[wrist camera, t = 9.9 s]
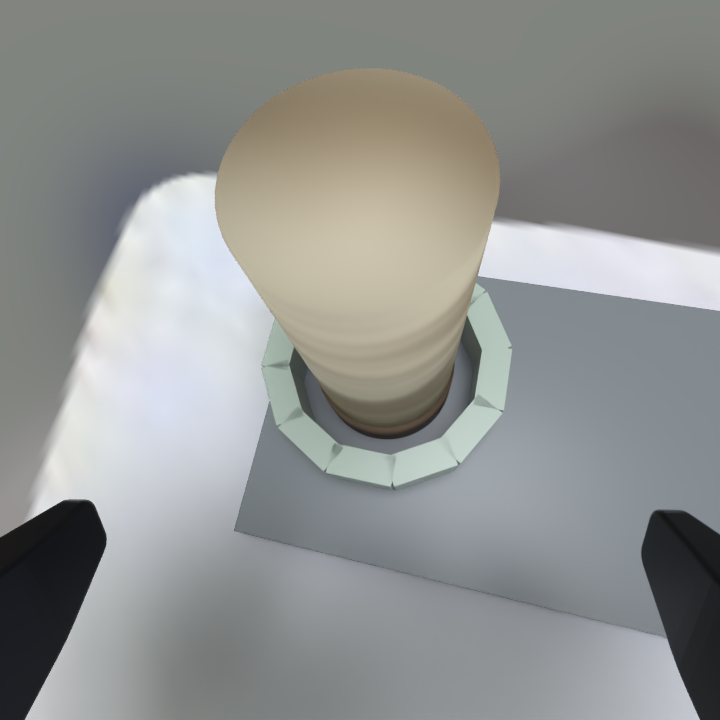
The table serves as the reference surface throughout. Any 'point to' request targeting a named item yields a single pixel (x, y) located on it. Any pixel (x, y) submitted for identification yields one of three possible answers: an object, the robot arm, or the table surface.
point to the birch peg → (364, 234)
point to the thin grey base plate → (511, 453)
